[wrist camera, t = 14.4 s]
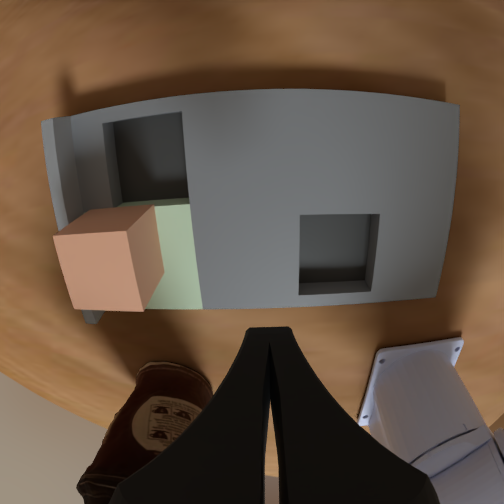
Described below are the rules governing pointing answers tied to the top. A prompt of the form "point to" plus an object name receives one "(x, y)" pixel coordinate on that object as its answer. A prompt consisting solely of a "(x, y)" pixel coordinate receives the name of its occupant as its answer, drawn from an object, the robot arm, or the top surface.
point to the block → (111, 258)
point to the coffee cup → (145, 426)
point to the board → (271, 192)
